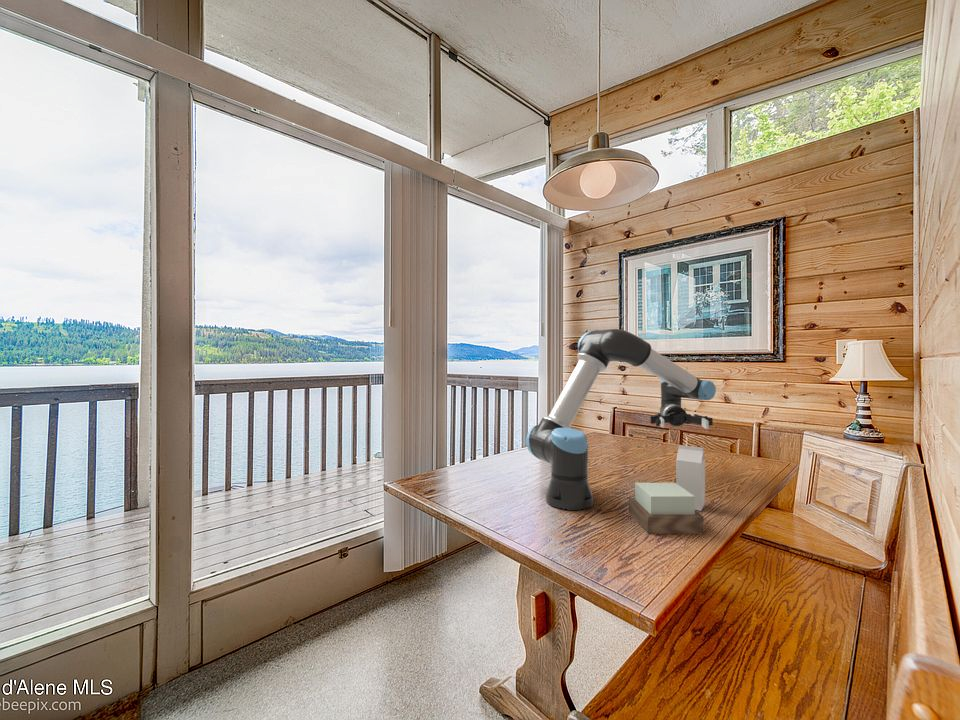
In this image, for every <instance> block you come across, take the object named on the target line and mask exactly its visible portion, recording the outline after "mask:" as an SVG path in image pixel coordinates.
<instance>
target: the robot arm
mask: <svg viewBox="0 0 960 720" xmlns="http://www.w3.org/2000/svg"><path fill="white" fill-rule="evenodd" d="M576 357H577V363H576V364H575V367H574V369H573V370H572V372H571V374H570V376H569V378H568V379H567V381H566V383H565V384H564V385H565V386H563V388H562V390H561V392H560V394H559V396H558V397H557V399H556V401H555V403H554V405H553V407H552V409H551V411H550V413H549V414H548V415H547V416H543V417H542V418H541V420H540V422H539V423H538V424H536V425H534V426H532V427H531V428H530V429H529V430H528V432H527V435H526V439H525V443H526V447H527V450H528V452H530V453H529V454H531V455H532V456H534V457H535V458H537V459H538V460H542V461H544V462H547V463H549V464H550V468H551V469H550V474H551V477H550V480H549V484H548V487H547V489H546V493H545V502H546V501H547V502H546V503H547V504H548V503H549V504H550V505H549V504H548V505H549V506H551V505H552V506H551V507H553V506H554V508H556V507H558V508H557V509H560V508H562V509H561V510H565V509H567V510H566V511H581V509H583V510H585V509H586V508H587V509H590V508H591V507H593V505H594V495H593V493H592V489H591V487H590V484H589V481H588V480H589V479H588V463H589V461H588V460H589V459H588V458H589V456H588V454H589V452H588V451H589V449H588V448H589V443H588V438H587V435H586V434H585V433H584V432H583V431H582V430H578V429H577V428H571V426H572V424H573V422H574V421H575V418H576V416H577V415H578V413H579V411H580V409H581V407H582V405H583V403H584V401H585V399H586V398H587V396H588V394H589V392H590V390H591V388H592V386H593V384H594V383H595V380H596V379H597V377H598V375H599V373H600V372H603V371H605V370H606V369H607V367H608V365H609V363H610V362H620V363H621V362H622V363H626V364H629V365H630V366H632V367H636V368H637V367H640V368H641V369H642V370H645V371H646V372H649V373H650V374H652V375H653V376H655V377H656V378H658V379H660V399H661V400H660V407H659V410H660V411H659V412H657V414H655V415H652V416H650V424H652V425H653V424H655V426H656V427H661V428H662V429H665V423H666V424H669V425H671V426H674V427H680V426H683V425H684V424H688V425H689V424H695V425H701V427H703V428H704V429H705V430H709V429H710V428H709V427H710V426H713V425H714V424H713V423H714V422H713V417H709V416H708V415H706V416H703V415H699V414H697V413H694V414H689V413H687V412H686V410H685V409H684V408H683V407H682V399H690V400H698V401H710V400H712V399H713V398H714V397H715V395H716V392H717V388H716V385H715V383H714V382H713V381H712V380H707V379H700V378H699V377H697V376H695V375H694V374H692V373H690V372H689V371H688V370H686V369H684V368H683V367H681V366H679V365H678V364H676V363H675V362H674V361H672V360H671V359H669V358H667V357H665V356H664V355H662V353H661V354H660V353H659V352H657V351H656V350H655V349H653V348H652V346H651V344H650V343H649V342H647V341H646V340H644V339H643V338H641V337H639V336H638V335H635V334H634V333H632V332H629V331H627V330H624V329H621V328H620V329H619V328H610V329H601V330H599V329H595V330H590V331H587V332H586V333H584V334H583V335H582V336H581V337H580V338H579V340H578V343H577V354H576ZM589 507H590V508H589Z"/></svg>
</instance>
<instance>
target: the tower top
mask: <svg viewBox="0 0 960 720" xmlns="http://www.w3.org/2000/svg"><path fill="white" fill-rule="evenodd" d="M634 498H635V500H636V501H637V502H638V503H639V504H640V505H641V506H643V507H644V508H645V509H646V510H647V511H648V512H649V513H650V514H651V515H695V511H696V510H695V496H694V495H692V494H691V493H689V492H688V491H686V490H685V489H683V488H682V487H680V486H679V485H677V484H676V482H634Z"/></svg>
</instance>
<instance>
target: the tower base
mask: <svg viewBox="0 0 960 720" xmlns="http://www.w3.org/2000/svg"><path fill="white" fill-rule="evenodd" d="M628 513H629V514H630V515H631V517H632V518H633V519H635V520H634V521H636V522H637V524H638V525H639V526H640V527H641V528H642V529H643V530H644V531H645V532H646V533H647V534H704V530H705V529H704V526H705V524H704V523H705V521H704V520H705V517H704V515H702V514H700V513H699V512H698V510H695V515H651V514H650V513H649V512H648V511H647V510H646V509H645V508H644V507H643V506H641V505H640V504H639V503H638V502H637V501H636V500H635V497H628Z"/></svg>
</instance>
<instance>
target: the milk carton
mask: <svg viewBox="0 0 960 720" xmlns="http://www.w3.org/2000/svg"><path fill="white" fill-rule="evenodd" d="M676 454H677V455H676V459H675V460H676V461H675V466H676V467H675V468H676V469H675V471H676V472H675V478H676V480H675V483H676V484H677V485H679V486H680V487H682V488H683V489H685V490H686V491H688V492H689V493H691V494H692V495H694V496H695V511H697V512H698V511H699V512H702V510H703V509H704V507H705V505H706V455H705V452H704V447H698V446H689V445H683V444H678V449H677V453H676Z"/></svg>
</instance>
